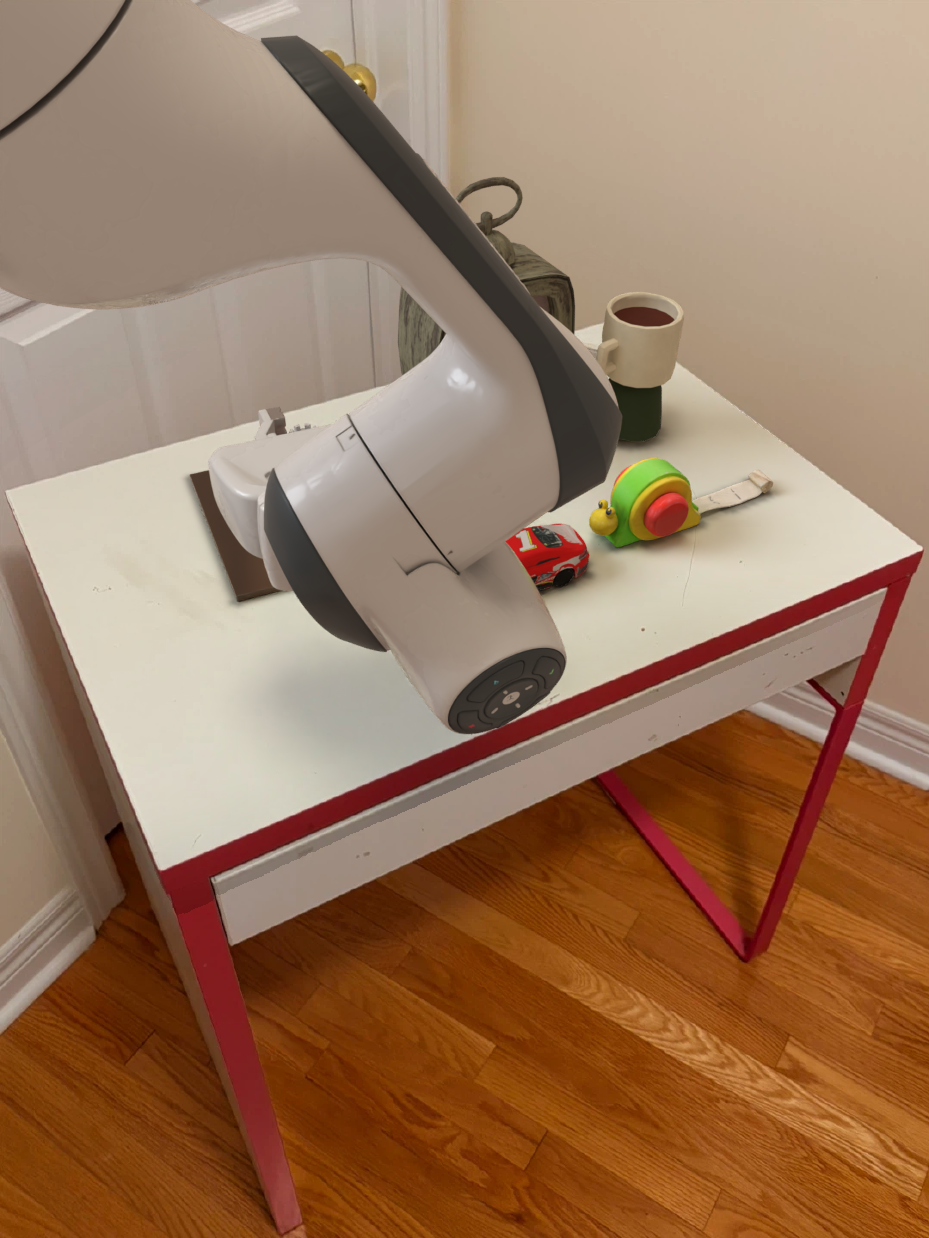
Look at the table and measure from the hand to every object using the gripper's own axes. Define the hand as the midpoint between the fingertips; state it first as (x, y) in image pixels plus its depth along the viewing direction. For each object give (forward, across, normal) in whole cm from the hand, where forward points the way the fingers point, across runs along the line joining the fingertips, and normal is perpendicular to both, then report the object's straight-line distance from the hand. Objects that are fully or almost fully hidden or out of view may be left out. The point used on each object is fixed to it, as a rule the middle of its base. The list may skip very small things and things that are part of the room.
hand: (334, 403), depth 73 cm
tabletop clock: (+18, -19, +19) cm, 32 cm away
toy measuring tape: (-1, -31, +18) cm, 36 cm away
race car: (-3, -13, +19) cm, 23 cm away
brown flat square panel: (+12, 0, +19) cm, 22 cm away
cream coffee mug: (+13, -33, +18) cm, 40 cm away
